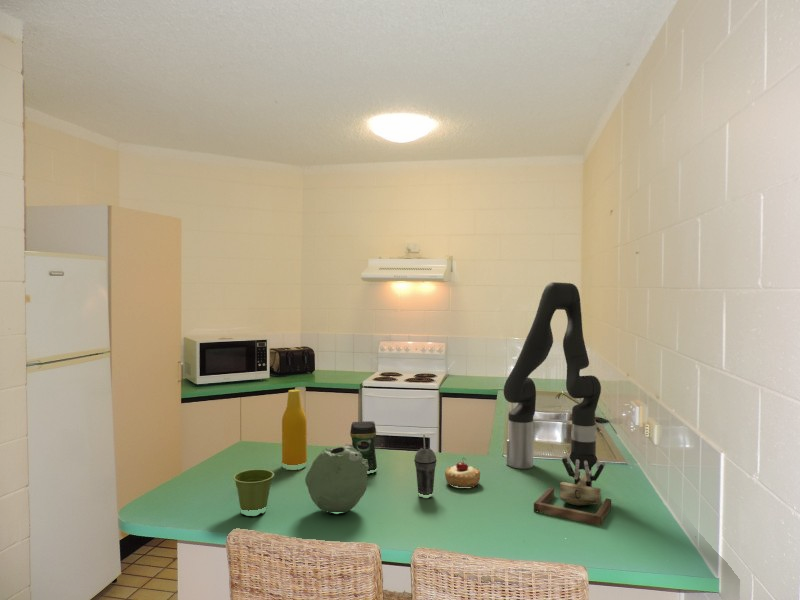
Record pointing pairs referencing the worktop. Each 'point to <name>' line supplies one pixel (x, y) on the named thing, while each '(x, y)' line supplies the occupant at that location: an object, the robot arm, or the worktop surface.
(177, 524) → the worktop surface
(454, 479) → the pastry
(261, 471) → the plant pot
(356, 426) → the coffee jar
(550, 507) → the walnut bay
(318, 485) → the round grey vase
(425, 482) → the beverage cup
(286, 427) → the beer bottle
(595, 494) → the wooden pusher
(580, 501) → the lid
